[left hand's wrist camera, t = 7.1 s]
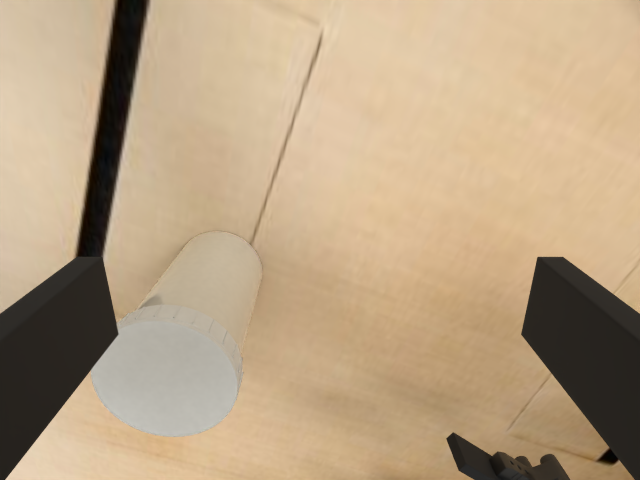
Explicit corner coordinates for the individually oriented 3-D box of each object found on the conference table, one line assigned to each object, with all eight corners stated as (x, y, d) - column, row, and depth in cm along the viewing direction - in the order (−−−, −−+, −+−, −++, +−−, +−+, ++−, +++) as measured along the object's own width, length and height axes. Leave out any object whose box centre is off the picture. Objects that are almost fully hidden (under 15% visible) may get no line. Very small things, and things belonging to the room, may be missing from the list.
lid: (263, 332, 27) (259, 350, 25) (219, 430, 30) (213, 453, 28) (122, 282, 25) (107, 298, 24) (91, 391, 29) (76, 413, 27)
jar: (274, 249, 40) (250, 349, 26) (246, 317, 43) (209, 441, 28) (192, 217, 39) (117, 303, 24) (168, 289, 41) (89, 404, 27)
